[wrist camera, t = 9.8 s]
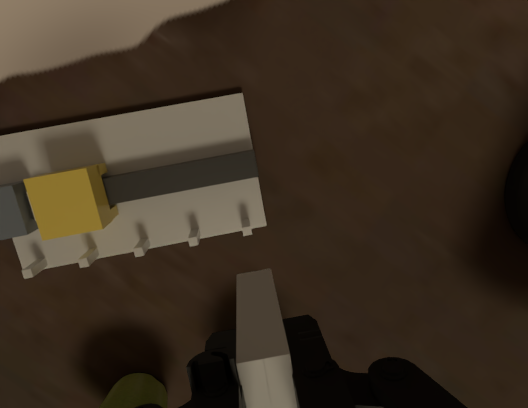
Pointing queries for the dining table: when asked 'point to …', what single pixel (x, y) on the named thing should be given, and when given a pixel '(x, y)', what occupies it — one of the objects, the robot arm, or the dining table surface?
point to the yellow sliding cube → (70, 201)
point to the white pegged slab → (138, 180)
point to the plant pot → (136, 392)
